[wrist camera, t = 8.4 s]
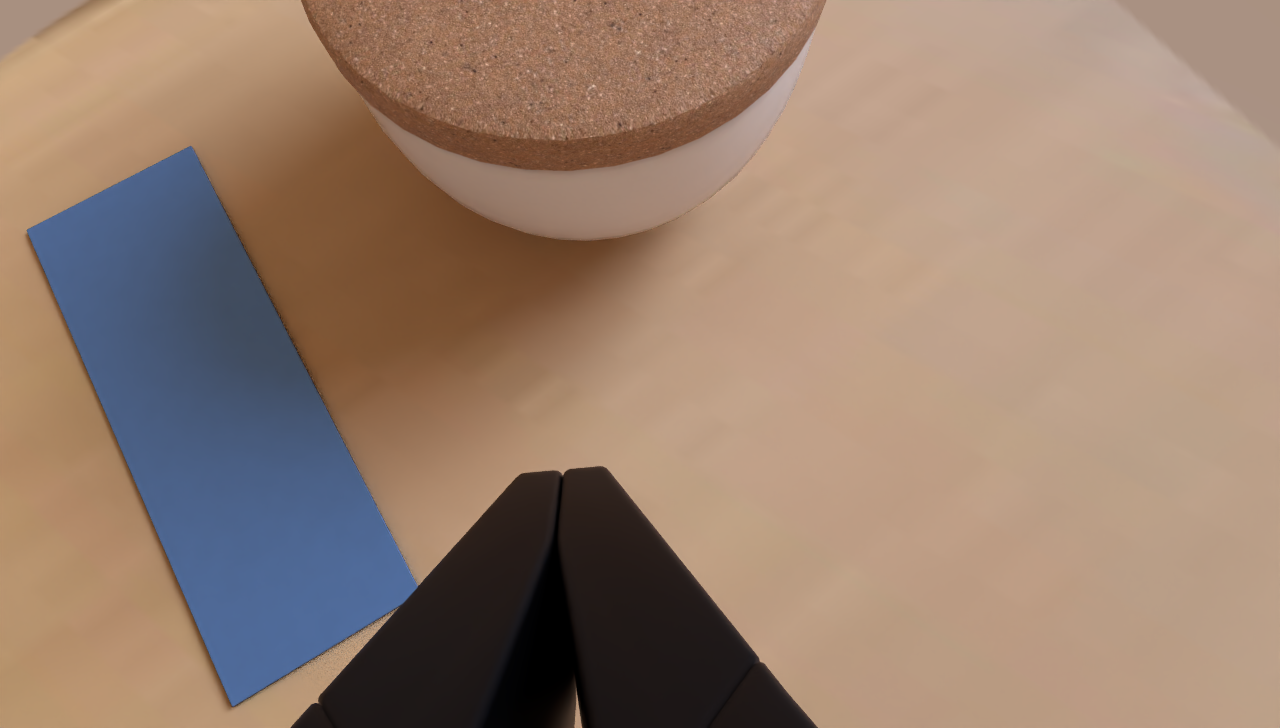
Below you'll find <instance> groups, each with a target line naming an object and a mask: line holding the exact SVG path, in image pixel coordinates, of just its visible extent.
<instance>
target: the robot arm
mask: <svg viewBox="0 0 1280 728" xmlns="http://www.w3.org/2000/svg"><path fill="white" fill-rule="evenodd" d="M576 688H577V695H578V702H579V709H580V716H581V723H582V728H818V727H817V726H816V725H815V724H814V723H813V722H812V720H811V719H810V718H809V717H808V716H807V715H806V713H805V712H804V711H803V710H802V709H801V708H800V707H799V705H798V704H797V703H796V702H795V701H794V700H793V699H792V697H791V696H790V695H789V694H788V693H787V691H786V690H785V689H784V688H783V686H782V685H781V684H780V683H779V681H778V680H777V679H776V678H775V676H774V675H773V674H772V673H771V671H770V670H769V669H768V668H767V666H766V665H765V664H764V663H762V662H760V661H759V657H758V656H757V655H756V653H755V652H754V651H753V650H752V648H751V647H750V646H749V645H748V643H747V642H746V641H745V640H744V638H743V637H742V636H741V635H740V633H739V632H738V631H737V630H736V628H735V627H734V626H733V625H732V624H731V622H730V621H729V620H728V619H727V617H726V616H725V615H724V614H723V612H722V611H721V610H720V609H719V607H718V606H717V605H716V604H715V602H714V601H713V600H712V599H711V597H710V596H709V595H708V594H707V592H706V591H705V590H704V589H703V587H702V586H701V585H700V584H699V582H698V581H697V580H696V579H695V577H694V576H693V575H692V574H691V572H690V571H689V570H688V569H687V567H686V566H685V565H684V564H683V562H682V561H681V560H680V559H679V558H678V556H677V555H676V554H675V553H674V551H673V550H672V549H671V548H670V546H669V545H668V544H667V543H666V541H665V540H664V539H663V538H662V536H661V535H660V534H659V533H658V531H657V530H656V529H655V528H654V526H653V525H652V524H651V523H650V521H649V520H648V519H647V518H646V516H645V515H644V514H643V513H642V511H641V510H640V509H639V508H638V506H637V505H636V504H635V503H634V501H633V500H632V499H631V498H630V496H629V495H628V494H627V493H626V491H625V490H624V489H623V488H622V487H621V485H620V484H619V483H618V482H617V480H616V479H615V478H614V477H613V475H612V474H611V473H610V472H609V471H608V469H607V468H605V467H603V466H597V467H587V468H576V469H569V470H567V471H566V472H565V473H564V475H562V474H561V473H560V472H559V471H554V470H553V471H542V472H530V473H523V474H520V475H519V476H518V477H516V478H515V480H514V481H513V482H512V483H511V484H510V485H509V486H508V487H507V488H506V490H505V491H504V492H503V493H502V494H501V495H500V496H499V497H498V498H497V500H496V501H495V502H494V503H493V504H492V505H491V506H490V507H489V508H488V510H487V511H486V512H485V513H484V514H483V515H482V516H481V517H480V518H479V520H478V521H477V522H476V523H475V524H474V525H473V526H472V527H471V528H470V530H469V531H468V532H467V533H466V534H465V535H464V536H463V537H462V538H461V539H460V541H459V542H458V543H457V544H456V545H455V546H454V547H453V548H452V549H451V551H450V552H449V553H448V554H447V555H446V556H445V557H444V558H443V559H442V561H441V562H440V563H439V564H438V565H437V566H436V567H435V568H434V569H433V571H432V572H431V573H430V574H429V575H428V576H427V577H426V578H425V579H424V581H423V582H422V583H421V584H420V585H419V586H418V587H417V588H416V589H415V591H414V592H413V593H412V594H411V595H410V596H409V597H408V598H407V599H406V601H405V602H404V603H403V604H402V605H401V606H400V607H399V608H398V609H397V611H396V612H395V613H394V614H393V615H392V616H391V617H390V618H389V619H388V621H387V622H386V623H385V624H384V625H383V626H382V627H381V628H380V629H379V630H378V632H377V633H376V634H375V635H374V636H373V637H372V638H371V639H370V640H369V642H368V643H367V644H366V645H365V646H364V647H363V648H362V649H361V650H360V652H359V653H358V654H357V655H356V656H355V657H354V658H353V659H352V660H351V662H350V663H349V664H348V665H347V666H346V667H345V668H344V669H343V670H342V672H341V673H340V674H339V675H338V676H337V677H336V678H335V679H334V680H333V682H332V683H331V684H330V685H329V686H328V687H327V688H326V689H325V690H324V692H323V693H322V694H321V695H320V696H319V698H318V702H319V704H318V703H314V704H312V705H310V707H309V708H308V709H307V710H306V711H305V712H304V713H303V714H302V715H301V717H300V718H299V719H298V720H297V721H296V722H295V723H294V724H293V725H292V727H291V728H574V724H575V710H576Z"/></svg>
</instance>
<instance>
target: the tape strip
mask: <svg viewBox="0 0 1280 728" xmlns="http://www.w3.org/2000/svg"><path fill="white" fill-rule="evenodd" d="M27 232H28V235H29V237H30V239H31V242H32V244H33V246H34V249H35V251H36V253H37V256H38V258H39V260H40V263H41V265H42V267H43V270H44V272H45V274H46V276H47V279H48V281H49V283H50V286H51V288H52V290H53V293H54V295H55V297H56V300H57V302H58V304H59V307H60V309H61V311H62V314H63V316H64V318H65V321H66V323H67V325H68V327H69V330H70V332H71V334H72V337H73V339H74V341H75V344H76V346H77V348H78V351H79V353H80V355H81V358H82V360H83V362H84V365H85V367H86V369H87V372H88V374H89V376H90V379H91V381H92V383H93V385H94V388H95V390H96V392H97V395H98V397H99V399H100V402H101V404H102V406H103V409H104V411H105V413H106V416H107V418H108V420H109V423H110V425H111V427H112V430H113V432H114V434H115V436H116V439H117V441H118V443H119V446H120V448H121V450H122V453H123V455H124V457H125V460H126V462H127V464H128V467H129V469H130V471H131V474H132V476H133V478H134V481H135V483H136V485H137V487H138V490H139V492H140V494H141V497H142V499H143V501H144V504H145V506H146V508H147V511H148V513H149V515H150V518H151V520H152V522H153V525H154V527H155V529H156V532H157V534H158V536H159V538H160V541H161V543H162V545H163V548H164V550H165V552H166V555H167V557H168V559H169V562H170V564H171V566H172V569H173V571H174V573H175V576H176V578H177V580H178V583H179V585H180V587H181V590H182V592H183V594H184V596H185V599H186V601H187V603H188V606H189V608H190V610H191V613H192V615H193V617H194V620H195V622H196V624H197V627H198V629H199V631H200V634H201V636H202V638H203V641H204V643H205V645H206V647H207V650H208V652H209V654H210V657H211V659H212V661H213V664H214V666H215V668H216V671H217V673H218V675H219V678H220V680H221V682H222V685H223V687H224V689H225V692H226V694H227V696H228V698H229V701H230V703H231V705H232V707H234V706H236V705H238V704H239V703H241V702H243V701H244V700H246V699H248V698H249V697H251V696H252V695H254V694H256V693H257V692H259V691H261V690H262V689H264V688H266V687H267V686H269V685H271V684H272V683H274V682H276V681H277V680H279V679H280V678H282V677H284V676H285V675H287V674H289V673H290V672H292V671H294V670H295V669H297V668H299V667H300V666H302V665H304V664H305V663H307V662H309V661H310V660H312V659H313V658H315V657H317V656H318V655H320V654H322V653H323V652H325V651H327V650H328V649H330V648H332V647H333V646H335V645H337V644H338V643H340V642H341V641H343V640H345V639H346V638H348V637H350V636H351V635H353V634H355V633H356V632H358V631H360V630H361V629H363V628H365V627H366V626H368V625H370V624H371V623H373V622H374V621H376V620H378V619H379V618H381V617H383V616H384V615H386V614H388V613H389V612H391V611H393V610H394V609H396V608H398V607H399V606H401V605H402V604H403V603H404V602H405V601H406V599H407V598H408V597H409V596H410V595H411V594H412V593H413V592H414V591H415V589H416V588H417V587H418V586H417V584H416V582H415V580H414V578H413V576H412V574H411V572H410V570H409V568H408V566H407V564H406V562H405V560H404V558H403V556H402V555H401V553H400V551H399V549H398V547H397V545H396V543H395V541H394V539H393V537H392V535H391V533H390V531H389V529H388V527H387V525H386V523H385V521H384V519H383V518H382V516H381V514H380V512H379V510H378V508H377V506H376V504H375V502H374V500H373V498H372V496H371V494H370V492H369V490H368V488H367V486H366V484H365V483H364V481H363V479H362V477H361V475H360V473H359V471H358V469H357V467H356V465H355V463H354V461H353V459H352V457H351V455H350V453H349V451H348V449H347V447H346V446H345V444H344V442H343V440H342V438H341V436H340V434H339V432H338V430H337V428H336V426H335V424H334V422H333V420H332V418H331V416H330V414H329V412H328V411H327V409H326V407H325V405H324V403H323V401H322V399H321V397H320V395H319V393H318V391H317V389H316V387H315V385H314V383H313V381H312V379H311V377H310V376H309V374H308V372H307V370H306V368H305V366H304V364H303V362H302V360H301V358H300V356H299V354H298V352H297V350H296V348H295V346H294V344H293V342H292V340H291V339H290V337H289V335H288V333H287V331H286V329H285V327H284V325H283V323H282V321H281V319H280V317H279V315H278V313H277V311H276V309H275V307H274V305H273V304H272V302H271V300H270V298H269V296H268V294H267V292H266V290H265V288H264V286H263V284H262V282H261V280H260V278H259V276H258V274H257V272H256V270H255V268H254V267H253V265H252V263H251V261H250V259H249V257H248V255H247V253H246V251H245V249H244V247H243V245H242V243H241V241H240V239H239V237H238V235H237V233H236V232H235V230H234V228H233V226H232V224H231V222H230V220H229V218H228V216H227V214H226V212H225V210H224V208H223V206H222V204H221V202H220V200H219V198H218V196H217V195H216V193H215V191H214V189H213V187H212V185H211V183H210V181H209V179H208V177H207V175H206V173H205V171H204V169H203V167H202V165H201V163H200V161H199V160H198V158H197V156H196V154H195V152H194V150H193V148H192V147H191V146H189V147H187V148H185V149H184V150H182V151H180V152H178V153H176V154H174V155H172V156H170V157H168V158H166V159H164V160H162V161H160V162H158V163H156V164H154V165H152V166H150V167H148V168H146V169H145V170H143V171H141V172H139V173H137V174H135V175H133V176H131V177H129V178H127V179H125V180H123V181H121V182H119V183H117V184H115V185H113V186H111V187H109V188H107V189H106V190H104V191H102V192H100V193H98V194H96V195H94V196H92V197H90V198H88V199H86V200H84V201H82V202H80V203H78V204H76V205H74V206H72V207H70V208H68V209H67V210H65V211H63V212H61V213H59V214H57V215H55V216H53V217H51V218H49V219H47V220H45V221H43V222H41V223H39V224H37V225H35V226H33V227H31V228H29V229H28V230H27Z"/></svg>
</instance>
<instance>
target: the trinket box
mask: <svg viewBox="0 0 1280 728" xmlns="http://www.w3.org/2000/svg"><path fill="white" fill-rule="evenodd" d="M301 2H302V4H303V7H304V9H305V12H306V14H307V17H308V19H309V21H310V23H311V25H312V27H313V29H314V31H315V32H316V34H317V36H318V37H319V39H320V41H321V42H322V44H323V45H324V47H325V48H326V50H327V52H328V53H329V55H330V56H331V58H332V59H333V61H334V62H335V64H336V66H337V67H338V69H339V70H340V72H341V73H342V75H343V76H344V77H345V78H346V79H347V80H348V82H349V83H350V84H351V85H352V86H353V87H354V88H355V89H356V90H357V92H358V93H359V95H360V96H361V98H362V99H363V101H364V103H365V104H366V106H367V107H368V109H369V110H370V112H371V113H372V115H373V117H374V118H375V120H376V121H377V123H378V124H379V126H380V127H381V129H382V130H383V132H384V133H385V134H386V135H387V136H388V137H389V138H390V140H391V141H392V142H393V143H394V144H395V145H396V146H397V148H398V149H399V150H400V151H401V152H402V153H403V154H404V155H405V156H406V158H407V159H408V160H409V161H410V162H411V163H412V164H413V165H414V166H415V167H416V168H417V169H418V170H419V171H420V172H421V174H423V175H424V176H425V177H426V178H427V179H429V180H430V181H431V182H432V183H434V184H435V185H436V186H437V187H439V188H440V189H441V190H443V191H444V192H445V193H446V194H448V195H449V196H450V197H452V198H453V199H454V200H456V201H457V202H458V203H460V204H461V205H462V206H464V207H466V208H468V209H470V210H471V211H473V212H475V213H477V214H479V215H481V216H483V217H485V218H487V219H488V220H490V221H493V222H496V223H499V224H502V225H505V226H508V227H510V228H513V229H516V230H519V231H522V232H525V233H528V234H531V235H537V236H542V237H548V238H553V239H559V240H583V241H592V240H601V239H611V238H620V237H624V236H628V235H632V234H636V233H640V232H644V231H647V230H651V229H653V228H656V227H658V226H660V225H663V224H665V223H668V222H670V221H672V220H675V219H677V218H679V217H681V216H682V215H684V214H686V213H687V212H689V211H691V210H692V209H694V208H695V207H697V206H699V205H700V204H702V203H704V202H705V201H707V200H708V199H709V198H711V197H712V196H713V195H715V194H716V193H717V192H718V191H719V190H721V189H722V188H723V187H724V186H725V185H727V184H728V183H729V182H730V181H731V180H732V179H734V178H735V177H736V176H737V175H738V174H739V173H740V171H741V170H742V169H743V168H744V167H745V166H746V164H747V163H748V162H749V161H750V160H751V159H752V158H753V156H754V155H755V154H756V153H757V151H758V150H759V148H760V147H761V146H762V144H763V143H764V141H765V140H766V138H767V137H768V135H769V134H770V132H771V131H772V129H773V127H774V126H775V124H776V122H777V121H778V119H779V117H780V116H781V114H782V112H783V111H784V109H785V107H786V105H787V103H788V100H789V98H790V96H791V94H792V92H793V90H794V88H795V85H796V83H797V80H798V77H799V75H800V72H801V70H802V67H803V65H804V62H805V59H806V57H807V54H808V51H809V47H810V44H811V41H812V38H813V34H814V31H815V28H816V25H817V23H818V20H819V18H820V15H821V13H822V10H823V7H824V5H825V2H826V0H301Z"/></svg>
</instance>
